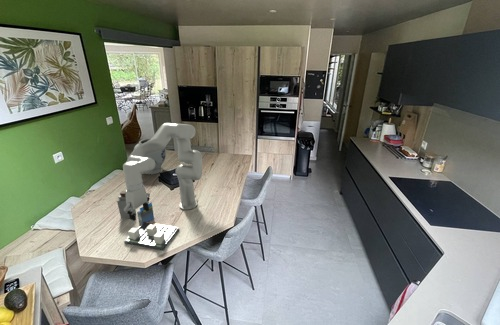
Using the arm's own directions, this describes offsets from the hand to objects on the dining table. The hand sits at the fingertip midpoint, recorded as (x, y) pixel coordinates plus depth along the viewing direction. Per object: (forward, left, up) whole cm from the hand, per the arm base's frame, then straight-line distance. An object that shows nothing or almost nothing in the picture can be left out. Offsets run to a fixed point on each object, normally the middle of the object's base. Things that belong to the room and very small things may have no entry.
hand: (139, 214), depth 125 cm
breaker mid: (-8, -1, -19) cm, 20 cm away
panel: (-8, -1, -21) cm, 22 cm away
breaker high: (-3, +7, -19) cm, 20 cm away
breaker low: (-3, -9, -19) cm, 21 cm away
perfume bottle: (-23, -29, -21) cm, 42 cm away
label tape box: (-21, -14, -21) cm, 33 cm away
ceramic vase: (-92, -56, -21) cm, 110 cm away
